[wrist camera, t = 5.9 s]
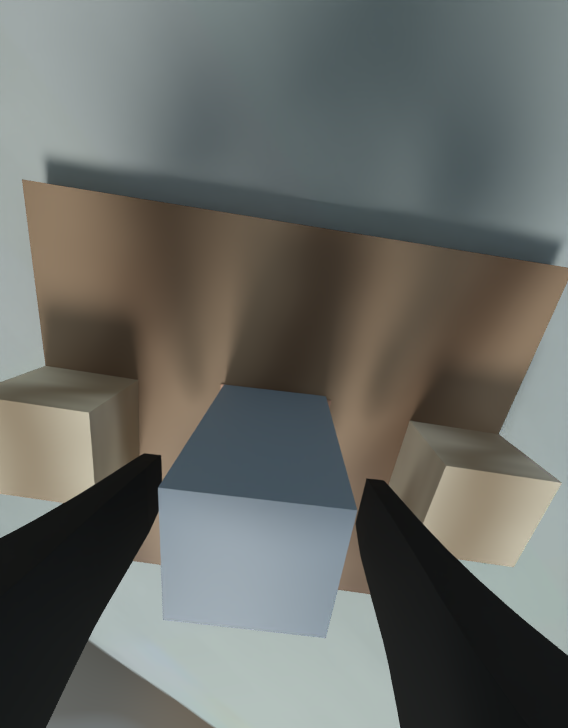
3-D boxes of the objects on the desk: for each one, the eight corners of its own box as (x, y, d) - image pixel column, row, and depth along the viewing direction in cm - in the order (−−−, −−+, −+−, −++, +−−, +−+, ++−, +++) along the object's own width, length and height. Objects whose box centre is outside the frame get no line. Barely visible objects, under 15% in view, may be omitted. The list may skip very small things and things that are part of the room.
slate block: (325, 396, 12) (357, 510, 6) (311, 480, 13) (325, 638, 7) (224, 384, 12) (157, 487, 6) (219, 469, 13) (163, 619, 7)
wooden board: (548, 269, 11) (686, 265, 7) (415, 582, 16) (452, 675, 13) (46, 188, 11) (-93, 138, 7) (82, 535, 16) (17, 615, 12)
